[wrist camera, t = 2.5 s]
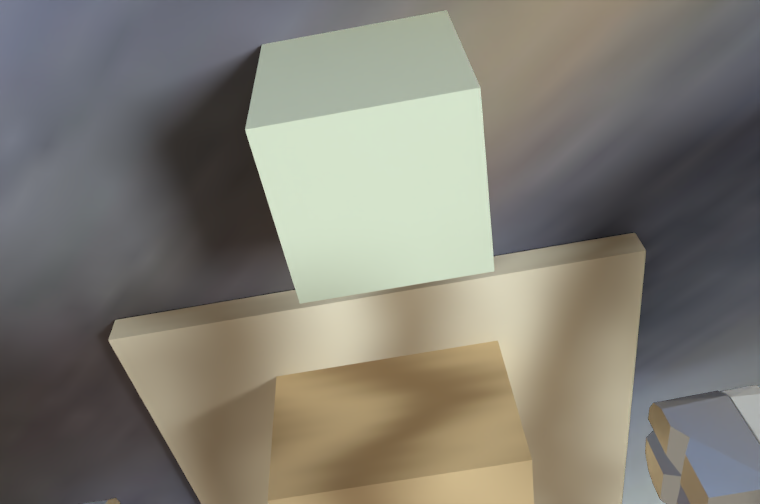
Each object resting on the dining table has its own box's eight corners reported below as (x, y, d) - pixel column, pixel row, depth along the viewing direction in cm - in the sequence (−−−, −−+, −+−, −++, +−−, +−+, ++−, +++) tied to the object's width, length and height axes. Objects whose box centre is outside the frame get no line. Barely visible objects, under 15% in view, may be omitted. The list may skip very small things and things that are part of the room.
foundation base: (635, 232, 23) (715, 364, 18) (613, 499, 33) (662, 631, 28) (115, 320, 24) (63, 467, 19) (244, 555, 34) (231, 692, 29)
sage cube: (445, 9, 18) (480, 87, 14) (462, 170, 21) (494, 271, 17) (261, 43, 18) (245, 129, 14) (304, 197, 21) (299, 303, 18)
